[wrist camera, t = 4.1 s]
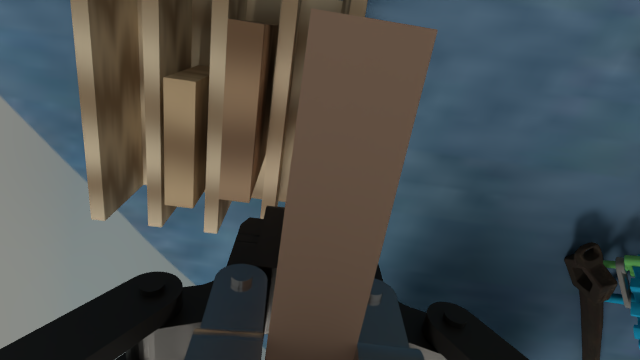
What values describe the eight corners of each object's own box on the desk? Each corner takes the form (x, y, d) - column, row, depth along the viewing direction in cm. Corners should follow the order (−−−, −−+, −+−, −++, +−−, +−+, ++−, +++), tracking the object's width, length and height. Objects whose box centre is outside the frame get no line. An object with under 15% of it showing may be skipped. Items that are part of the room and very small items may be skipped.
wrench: (542, 404, 53) (536, 241, 40) (576, 394, 53) (582, 226, 39) (568, 444, 48) (571, 272, 35) (606, 432, 48) (624, 256, 35)
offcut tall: (253, 21, 29) (227, 18, 20) (278, 25, 30) (264, 24, 20) (243, 151, 34) (218, 199, 24) (265, 154, 34) (249, 202, 25)
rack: (124, -35, 29) (55, -57, 21) (359, 5, 31) (376, -3, 23) (133, 176, 36) (84, 218, 28) (325, 200, 37) (330, 246, 29)
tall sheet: (309, 21, 25) (310, 8, 5) (333, 25, 25) (437, 29, 5) (285, 206, 30) (235, 583, 10) (304, 209, 30) (295, 585, 10)
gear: (674, 312, 42) (662, 379, 36) (609, 302, 47) (590, 361, 41) (656, 228, 39) (642, 285, 34) (590, 226, 44) (567, 277, 38)
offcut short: (198, 65, 31) (163, 77, 23) (223, 68, 31) (195, 82, 23) (196, 166, 34) (164, 204, 27) (218, 169, 34) (192, 208, 27)
